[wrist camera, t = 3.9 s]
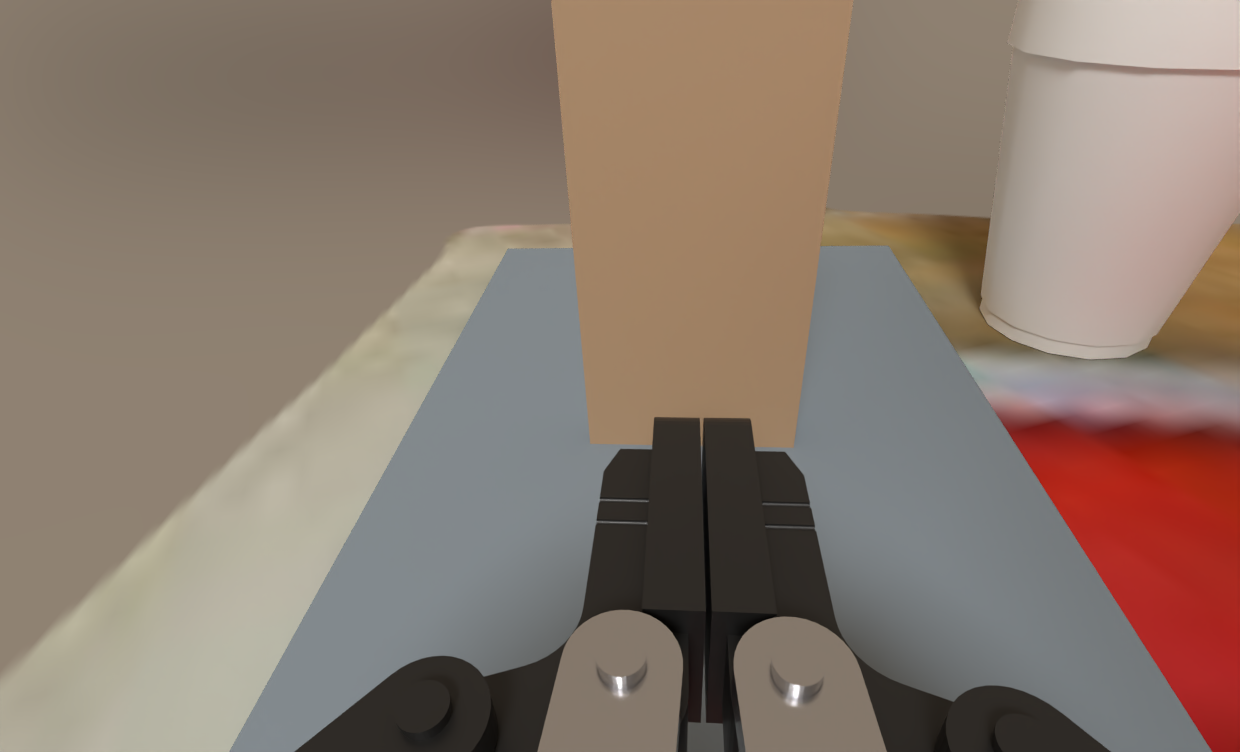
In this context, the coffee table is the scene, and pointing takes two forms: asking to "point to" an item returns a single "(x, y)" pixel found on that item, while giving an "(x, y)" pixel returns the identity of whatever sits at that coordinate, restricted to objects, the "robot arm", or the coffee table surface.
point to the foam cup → (1111, 169)
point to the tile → (697, 202)
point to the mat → (823, 451)
